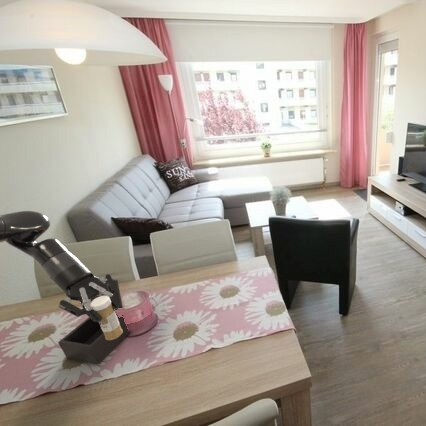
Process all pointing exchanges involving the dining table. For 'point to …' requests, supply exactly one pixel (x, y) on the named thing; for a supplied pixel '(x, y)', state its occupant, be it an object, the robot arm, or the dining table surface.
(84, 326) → the dark open box
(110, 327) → the sprinkles bottle
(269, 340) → the dining table surface
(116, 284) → the box lid
